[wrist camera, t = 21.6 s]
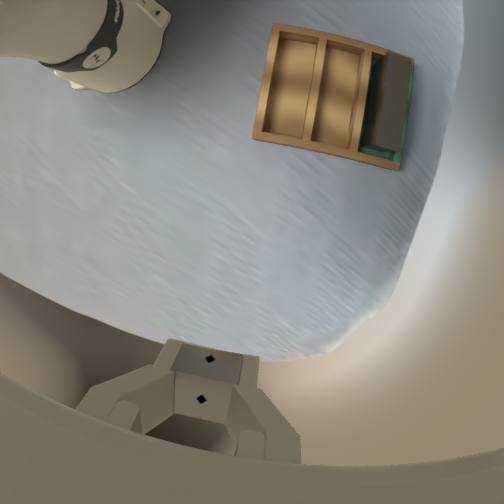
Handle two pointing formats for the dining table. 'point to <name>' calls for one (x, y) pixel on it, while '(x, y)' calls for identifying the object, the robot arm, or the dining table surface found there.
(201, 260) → the dining table surface
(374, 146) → the panel
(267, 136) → the rack
